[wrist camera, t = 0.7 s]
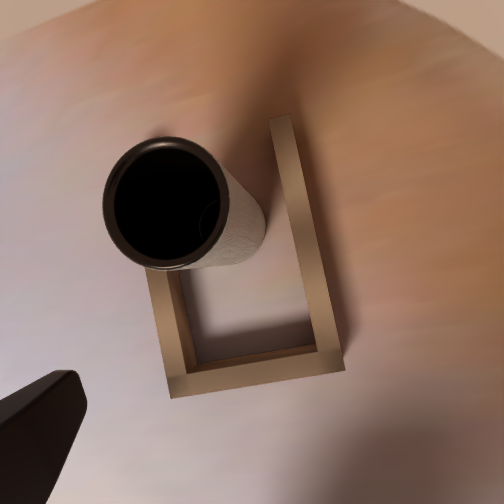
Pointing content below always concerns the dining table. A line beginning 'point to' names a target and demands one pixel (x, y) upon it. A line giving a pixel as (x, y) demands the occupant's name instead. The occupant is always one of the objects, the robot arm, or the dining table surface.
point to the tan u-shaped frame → (267, 363)
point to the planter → (179, 208)
